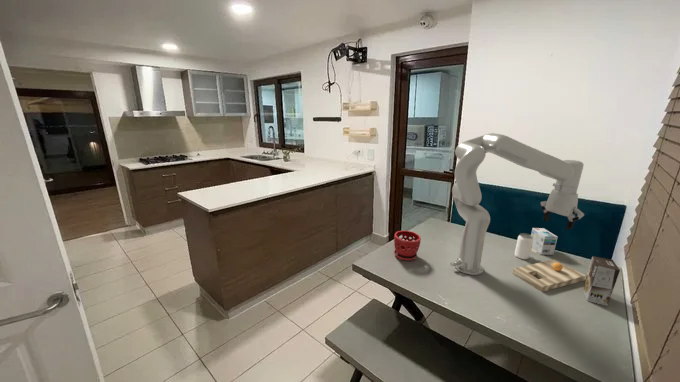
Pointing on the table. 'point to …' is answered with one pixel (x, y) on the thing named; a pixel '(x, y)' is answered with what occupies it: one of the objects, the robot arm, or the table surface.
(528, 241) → the can
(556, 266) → the ball
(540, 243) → the light bulb box
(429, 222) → the table surface
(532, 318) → the table surface
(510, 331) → the table surface
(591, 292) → the coffee box
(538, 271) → the board
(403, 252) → the plant pot
